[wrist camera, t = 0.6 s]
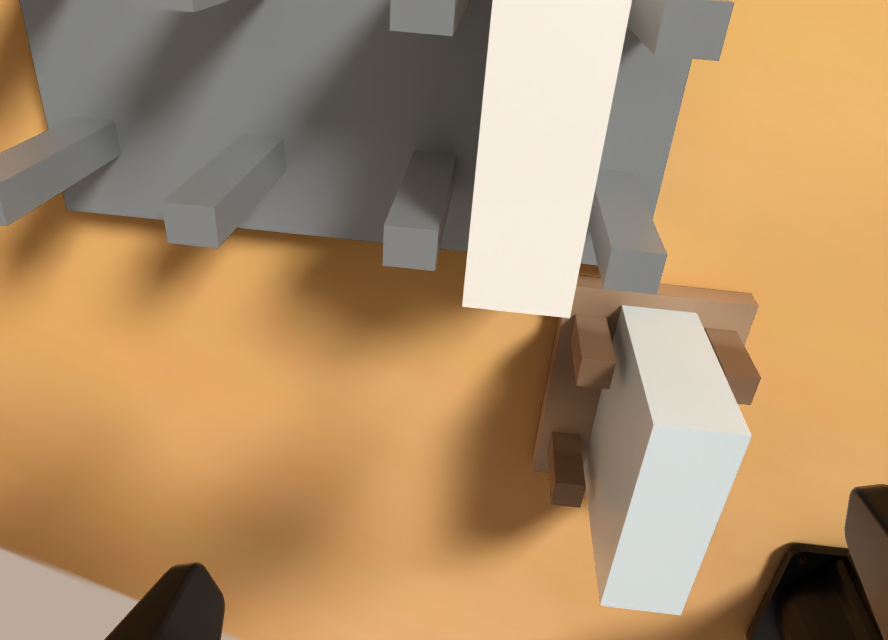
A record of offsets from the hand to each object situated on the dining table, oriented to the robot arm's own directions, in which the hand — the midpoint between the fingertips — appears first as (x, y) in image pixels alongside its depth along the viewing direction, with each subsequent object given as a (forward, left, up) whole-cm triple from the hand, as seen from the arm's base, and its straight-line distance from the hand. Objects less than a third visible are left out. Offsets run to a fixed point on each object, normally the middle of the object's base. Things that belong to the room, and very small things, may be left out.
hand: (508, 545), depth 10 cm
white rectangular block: (+3, 0, -13) cm, 13 cm away
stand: (-7, -5, -14) cm, 16 cm away
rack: (+3, +5, -14) cm, 15 cm away
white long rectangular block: (-7, -5, -13) cm, 15 cm away
